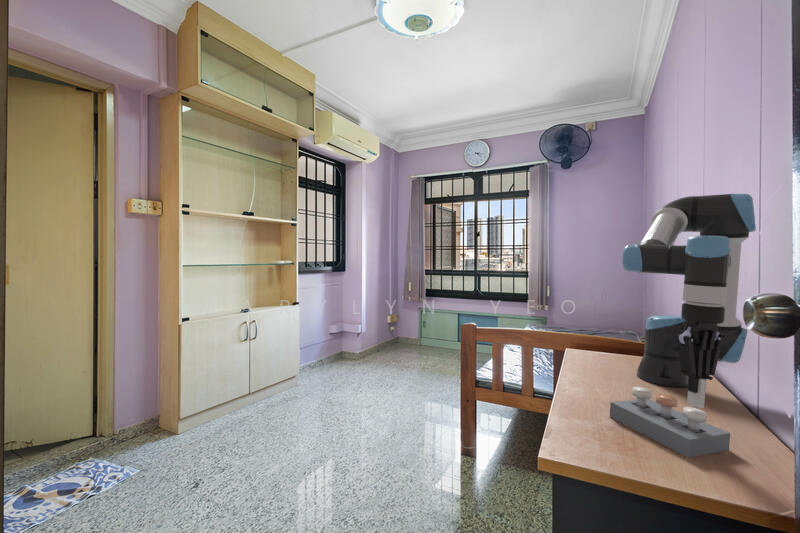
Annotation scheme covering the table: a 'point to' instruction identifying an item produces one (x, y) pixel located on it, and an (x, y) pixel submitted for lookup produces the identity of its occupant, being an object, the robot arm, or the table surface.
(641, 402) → the plunger
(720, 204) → the robot arm
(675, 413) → the console
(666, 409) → the terracotta plunger
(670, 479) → the table surface
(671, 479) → the table surface
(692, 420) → the plunger
